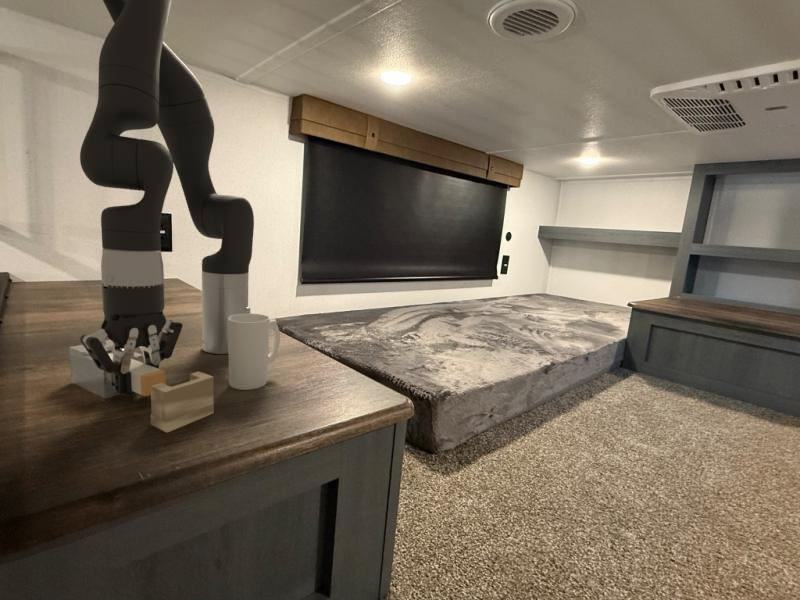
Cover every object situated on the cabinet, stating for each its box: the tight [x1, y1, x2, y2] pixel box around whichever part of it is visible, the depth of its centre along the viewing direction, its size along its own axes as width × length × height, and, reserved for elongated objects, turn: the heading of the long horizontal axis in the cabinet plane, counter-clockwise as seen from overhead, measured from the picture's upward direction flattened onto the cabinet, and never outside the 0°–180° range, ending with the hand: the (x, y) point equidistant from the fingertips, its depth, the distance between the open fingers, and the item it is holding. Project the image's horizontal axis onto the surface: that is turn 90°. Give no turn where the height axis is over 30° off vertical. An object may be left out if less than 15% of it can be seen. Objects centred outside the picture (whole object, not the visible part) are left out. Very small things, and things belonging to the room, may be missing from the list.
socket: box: [150, 371, 215, 433], centre depth 55 cm, size 4×7×6 cm, turn 152°
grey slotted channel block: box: [68, 339, 145, 400], centre depth 63 cm, size 10×6×6 cm, turn 62°
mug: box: [228, 313, 281, 391], centre depth 69 cm, size 10×7×12 cm, turn 146°
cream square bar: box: [106, 350, 166, 397], centre depth 62 cm, size 18×3×3 cm, turn 62°
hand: (137, 390), depth 60 cm, fingers closed on cream square bar, 3 cm apart
